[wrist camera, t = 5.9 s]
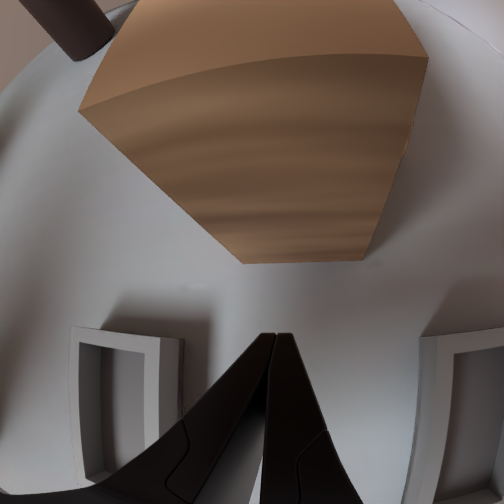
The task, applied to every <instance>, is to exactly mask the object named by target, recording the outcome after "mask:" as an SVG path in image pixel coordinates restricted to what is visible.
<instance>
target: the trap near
mask: <svg viewBox="0 0 504 504" xmlns="http://www.w3.org/2000/svg"><path fill="white" fill-rule="evenodd" d="M401 504H504V327H498V328H492V329H485V330H478V331H471V332H463V333H455V334H446V335H437V336H426V337H420V357H419V382H418V397H417V409H416V419H415V428H414V436H413V443H412V450H411V456H410V462H409V468H408V473H407V478H406V483H405V488H404V493H403V497H402V501H401Z"/></svg>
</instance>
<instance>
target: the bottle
mask: <svg viewBox="0 0 504 504" xmlns="http://www.w3.org/2000/svg"><path fill="white" fill-rule="evenodd" d="M19 1H20V3H21V4H22V5H23V6H24V7H25V8H26V9H27V10H28V12H29V13H30V14H31V15H32V16H33V17H34V18H35V19H36V20H37V22H38V23H39V24H40V25H41V26H42V27H43V28H44V29H45V30H46V31H47V33H48V34H49V35H50V36H51V37H52V38H53V39H54V41H55V42H56V43H57V44H58V45H59V46H60V47H61V48H62V49H63V51H64V52H65V53H66V54H67V55H68V56H69V57H70V58H71V59H72V60H73V61H81V60H83V59H86V58H87V57H89V56H91V55H92V54H94V53H95V52H96V51H98V50H99V49H100V48H101V47H102V46H104V45H105V44H106V43H107V42H108V41H109V39H110V38H111V37H112V35H113V33H114V27H113V25H112V24H111V23H110V21H109V20H108V19H107V17H106V16H105V14H104V13H103V12H102V10H101V9H100V8H99V6H98V5H97V4H96V2H95V1H94V0H19Z"/></svg>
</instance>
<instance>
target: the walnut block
mask: <svg viewBox="0 0 504 504" xmlns="http://www.w3.org/2000/svg"><path fill="white" fill-rule="evenodd" d="M428 58H429V57H428V55H427V54H426V52H425V50H424V48H423V46H422V45H421V43H420V41H419V40H418V38H417V36H416V34H415V33H414V31H413V30H412V28H411V26H410V25H409V23H408V22H407V20H406V19H405V17H404V15H403V14H402V12H401V11H400V10H399V8H398V7H397V5H396V4H395V2H394V1H393V0H139V2H138V3H137V4H136V6H135V7H134V9H133V10H132V12H131V13H130V15H129V16H128V18H127V19H126V21H125V23H124V24H123V26H122V27H121V29H120V31H119V32H118V34H117V35H116V37H115V39H114V41H113V42H112V44H111V46H110V47H109V49H108V51H107V53H106V55H105V56H104V58H103V60H102V62H101V64H100V66H99V68H98V69H97V71H96V73H95V75H94V77H93V79H92V81H91V83H90V86H89V88H88V90H87V92H86V94H85V96H84V98H83V101H82V103H81V105H80V107H79V110H78V112H79V113H80V114H81V115H82V116H83V117H85V118H86V119H87V120H88V121H89V122H90V123H91V124H92V125H93V126H94V127H95V128H96V129H97V130H98V131H99V132H100V133H101V134H102V135H104V136H105V137H106V138H107V139H108V140H109V141H110V142H111V143H112V144H113V145H114V146H115V147H116V148H117V149H118V150H119V151H121V152H122V153H123V154H124V155H125V156H126V157H127V158H128V159H129V160H130V161H131V162H132V163H133V164H134V165H135V166H137V167H138V168H139V169H140V170H141V171H142V172H143V173H144V174H145V175H146V176H147V177H148V178H149V179H151V180H152V181H153V182H154V183H155V184H156V185H157V186H158V187H159V188H160V189H161V190H162V191H163V192H165V193H166V194H167V195H168V196H169V197H170V198H171V199H172V200H173V201H174V202H175V203H176V204H178V205H179V206H180V207H181V208H182V209H183V210H184V211H185V212H186V213H187V214H188V215H190V216H191V217H192V218H193V219H194V220H195V221H196V222H197V223H198V224H199V225H201V226H202V227H203V228H204V229H205V230H206V231H207V232H208V233H209V234H210V235H211V236H213V237H214V238H215V239H216V240H217V241H218V242H219V243H220V244H221V245H222V246H224V247H225V248H226V249H227V250H228V251H229V252H230V253H231V254H232V255H234V256H235V257H236V258H237V259H238V260H239V261H240V262H241V263H242V264H258V263H294V262H327V261H356V260H363V258H364V256H365V254H366V251H367V249H368V247H369V244H370V242H371V239H372V237H373V234H374V232H375V229H376V227H377V224H378V222H379V219H380V217H381V214H382V212H383V209H384V206H385V204H386V201H387V198H388V195H389V193H390V190H391V187H392V184H393V181H394V179H395V176H396V173H397V170H398V167H399V164H400V161H401V158H402V155H403V152H404V148H405V145H406V142H407V139H408V135H409V132H410V129H411V125H412V122H413V118H414V115H415V111H416V108H417V104H418V100H419V96H420V92H421V88H422V84H423V80H424V76H425V72H426V67H427V63H428Z"/></svg>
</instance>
